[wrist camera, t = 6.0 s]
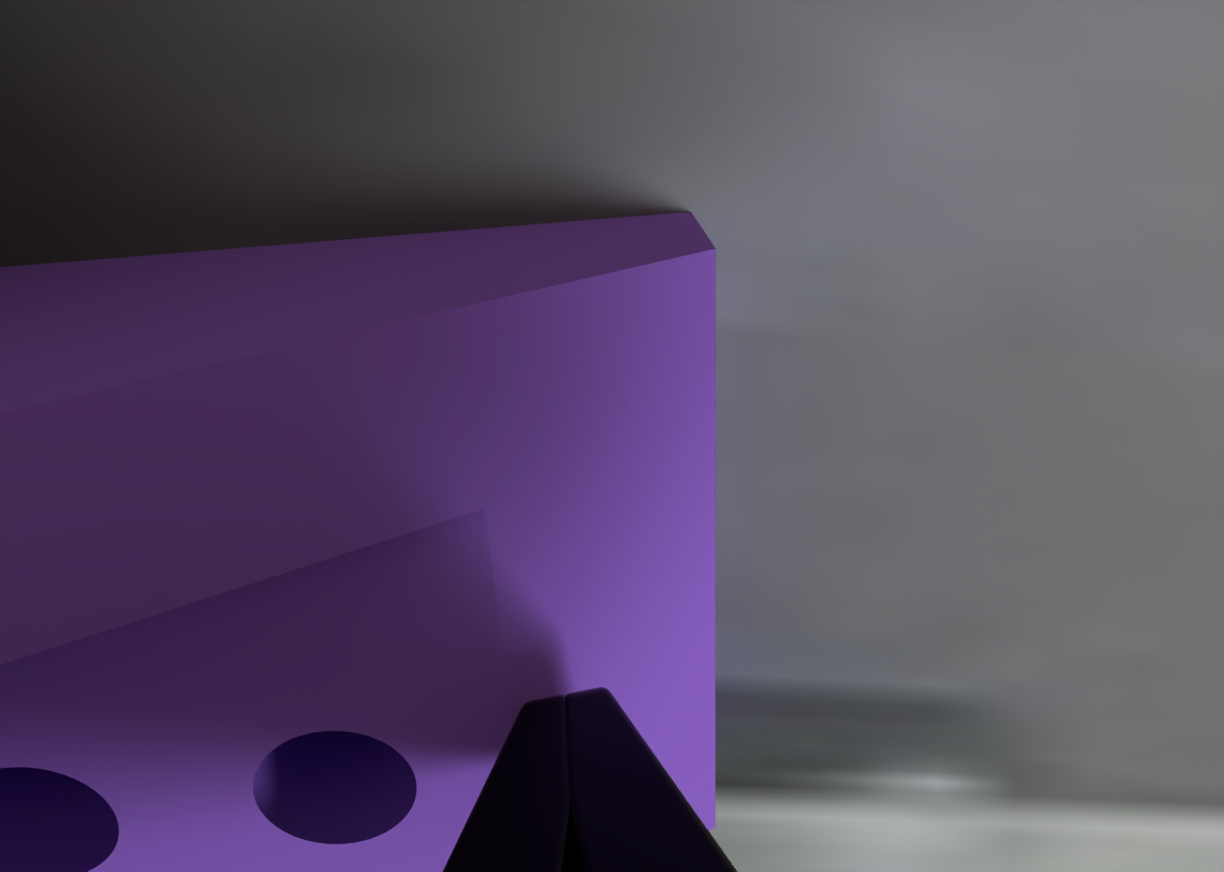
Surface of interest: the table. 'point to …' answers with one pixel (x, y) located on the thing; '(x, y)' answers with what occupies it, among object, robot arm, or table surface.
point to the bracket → (345, 535)
